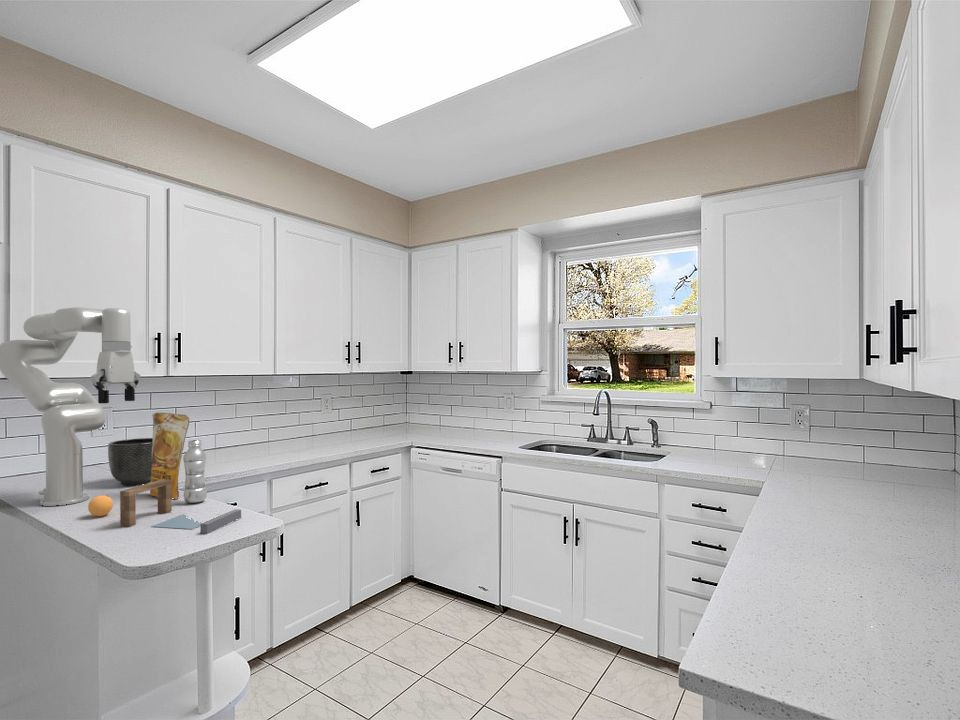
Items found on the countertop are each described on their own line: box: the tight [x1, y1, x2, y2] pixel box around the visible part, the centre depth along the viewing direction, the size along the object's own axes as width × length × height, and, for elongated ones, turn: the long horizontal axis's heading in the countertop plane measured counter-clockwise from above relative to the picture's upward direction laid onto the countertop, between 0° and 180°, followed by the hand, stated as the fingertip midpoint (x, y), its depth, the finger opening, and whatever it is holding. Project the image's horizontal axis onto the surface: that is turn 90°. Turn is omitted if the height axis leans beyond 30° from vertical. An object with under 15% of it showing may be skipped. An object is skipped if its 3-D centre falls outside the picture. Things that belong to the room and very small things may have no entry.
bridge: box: [119, 479, 173, 528], centre depth 153 cm, size 3×15×10 cm, turn 169°
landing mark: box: [151, 513, 201, 530], centre depth 150 cm, size 13×13×1 cm
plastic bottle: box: [182, 439, 208, 504], centre depth 170 cm, size 6×7×20 cm
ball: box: [87, 494, 114, 517], centre depth 156 cm, size 6×6×6 cm
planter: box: [107, 437, 153, 487], centre depth 198 cm, size 17×17×16 cm
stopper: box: [199, 509, 242, 535], centre depth 146 cm, size 2×14×2 cm, turn 169°
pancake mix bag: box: [149, 412, 190, 500], centre depth 179 cm, size 7×19×28 cm, turn 57°
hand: (117, 402), depth 166 cm, fingers open, 9 cm apart
